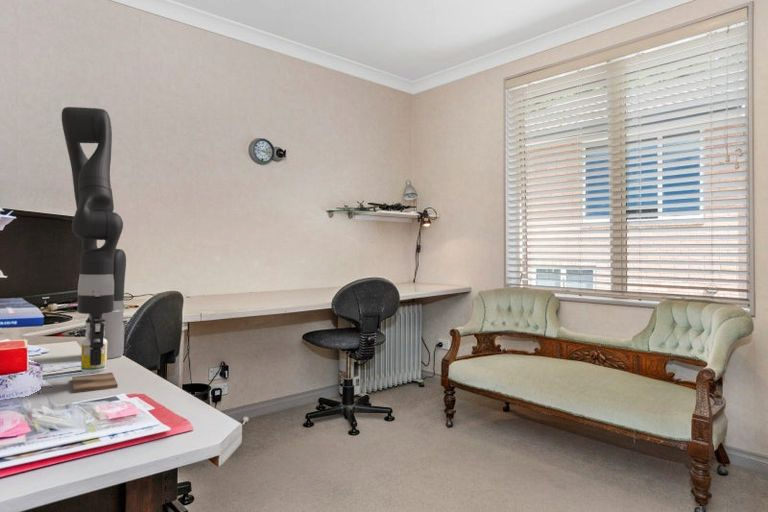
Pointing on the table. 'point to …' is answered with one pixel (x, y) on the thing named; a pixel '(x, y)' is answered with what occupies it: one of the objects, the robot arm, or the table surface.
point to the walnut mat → (94, 382)
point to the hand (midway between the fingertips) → (94, 362)
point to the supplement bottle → (86, 357)
